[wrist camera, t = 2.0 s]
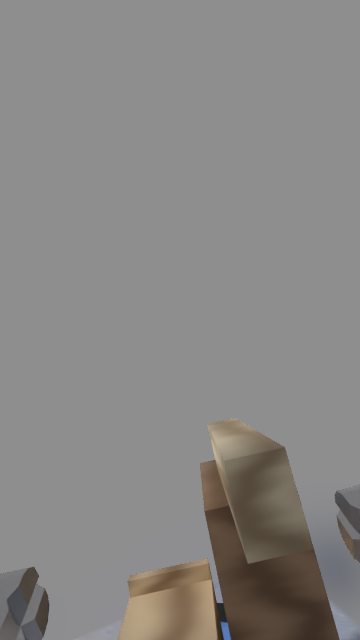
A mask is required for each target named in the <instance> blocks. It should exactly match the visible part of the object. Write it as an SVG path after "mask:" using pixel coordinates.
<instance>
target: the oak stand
mask: <svg viewBox="0 0 360 640" xmlns="http://www.w3.org/2000/svg"><path fill="white" fill-rule="evenodd" d="M128 585H129V593H130V600H129V603H128V606H127V610H126V613H125V616H124V619H123V622H122V626H121V629H120V632H119V635H118V638H117V640H224V637H223V632H222V627H221V622H220V617H219V612H218V607H217V602H216V597H215V592H214V587H213V582H212V577H211V572H210V567H209V562H208V559H203V560H198V561H194V562H189V563H185V564H180V565H176V566H172V567H167V568H162V569H158V570H154V571H149V572H145V573H141V574H136V575H131V576H130V577H129V580H128Z"/></svg>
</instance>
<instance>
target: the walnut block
mask: <svg viewBox="0 0 360 640" xmlns="http://www.w3.org/2000/svg"><path fill="white" fill-rule="evenodd" d="M200 469H201V479H202V490H203V500H204V511H205V516H206V521H207V525H208V530H209V535H210V540H211V544H212V550H213V554H214V559H215V564H216V569H217V574H218V579H219V584H220V589H221V594H222V598H223V603H224V608H225V613H226V618H227V623H228V628H229V633H230V637H231V640H340V639H339V636H338V632H337V629H336V625H335V622H334V618H333V615H332V611H331V608H330V604H329V601H328V597H327V594H326V590H325V587H324V583H323V580H322V576H321V572H320V569H319V565H318V562H317V558H316V555H315V551H314V549H312V550H307V551H303V552H298V553H294V554H289V555H285V556H280V557H276V558H272V559H267V560H263V561H258V562H254V563H249V564H248V562H247V559H246V556H245V553H244V550H243V547H242V544H241V540H240V537H239V534H238V531H237V528H236V525H235V522H234V519H233V516H232V512H231V509H230V506H229V503H228V500H227V497H226V494H225V491H224V487H223V484H222V481H221V478H220V475H219V472H218V469H217V465H216V460H213V461H208V462H204V463H200ZM299 499H300V498H299ZM300 503H301V502H300ZM302 510H303V509H302ZM303 513H304V512H303ZM304 517H305V516H304ZM306 524H307V523H306ZM308 531H309V530H308ZM310 538H311V537H310ZM312 545H313V544H312Z"/></svg>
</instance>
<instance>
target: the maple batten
mask: <svg viewBox="0 0 360 640" xmlns="http://www.w3.org/2000/svg"><path fill="white" fill-rule="evenodd" d="M208 428H209V433H210V438H211V442H212V447H213V451H214V455H215V460H216V465H217V469H218V472H219V475H220V478H221V481H222V484H223V487H224V491H225V494H226V497H227V500H228V503H229V506H230V509H231V512H232V516H233V519H234V522H235V525H236V528H237V531H238V534H239V537H240V540H241V544H242V547H243V550H244V553H245V556H246V559H247V562H248V564H249V563H254V562H258V561H263V560H267V559H272V558H276V557H280V556H285V555H289V554H294V553H298V552H303V551H307V550H312V549H314V548H313V545H312V541H311V538H310V534H309V531H308V527H307V524H306V520H305V517H304V513H303V510H302V506H301V503H300V499H299V495H298V492H297V489H296V485H295V482H294V478H293V474H292V471H291V467H290V464H289V460H288V457H287V453H286V450H285V447H284V446H282V445H280V444H278V443H277V442H275V441H273V440H271V439H270V438H268V437H266V436H264V435H263V434H261V433H260V432H258V431H256V430H254V429H253V428H251V427H249V426H248V425H246V424H244V423H242V422H241V421H239V420H238V419H236V418H233V419H228V420H225V421H220V422H215V423H210V424H208Z"/></svg>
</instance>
